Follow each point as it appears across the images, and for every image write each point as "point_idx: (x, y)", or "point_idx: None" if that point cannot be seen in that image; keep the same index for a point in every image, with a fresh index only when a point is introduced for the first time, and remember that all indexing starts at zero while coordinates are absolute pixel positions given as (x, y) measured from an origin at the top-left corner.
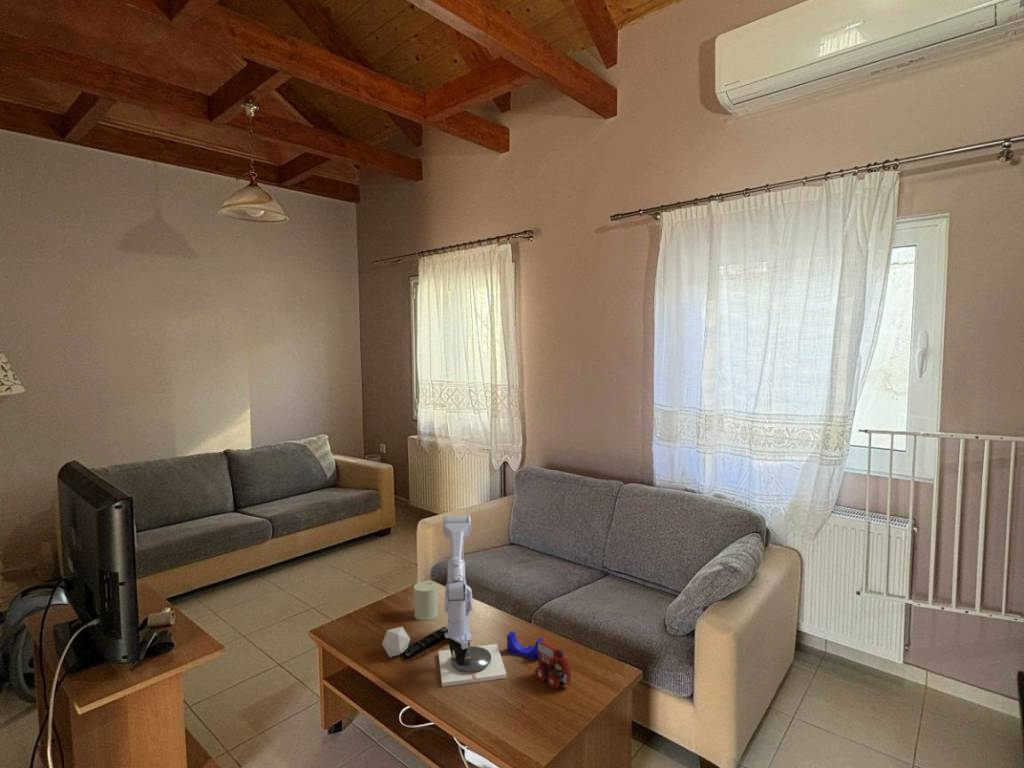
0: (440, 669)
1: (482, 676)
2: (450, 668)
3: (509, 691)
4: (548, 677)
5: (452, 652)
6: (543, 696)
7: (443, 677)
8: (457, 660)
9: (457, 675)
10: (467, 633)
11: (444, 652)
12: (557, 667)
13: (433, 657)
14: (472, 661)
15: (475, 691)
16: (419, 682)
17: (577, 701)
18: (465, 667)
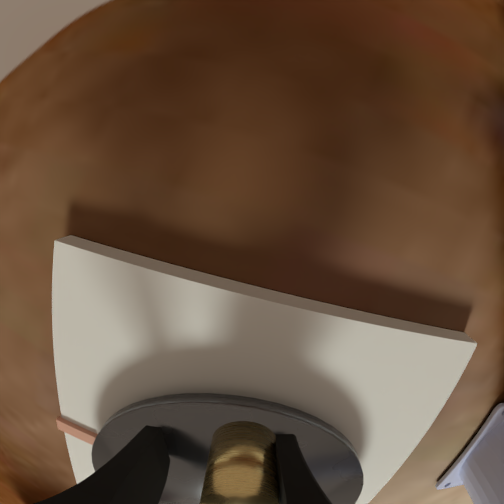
0: (246, 292)
1: (75, 452)
2: (210, 366)
3: (18, 452)
4: None
5: (245, 475)
6: (8, 480)
7: (109, 274)
8: (123, 450)
9: (105, 370)
10: (466, 489)
11: (438, 378)
12: None
13: (458, 291)
14: (172, 490)
15: (14, 374)
16: (190, 83)
17: (3, 496)
18: (114, 442)
